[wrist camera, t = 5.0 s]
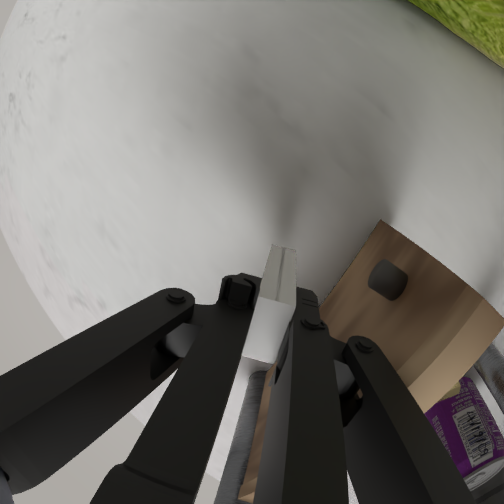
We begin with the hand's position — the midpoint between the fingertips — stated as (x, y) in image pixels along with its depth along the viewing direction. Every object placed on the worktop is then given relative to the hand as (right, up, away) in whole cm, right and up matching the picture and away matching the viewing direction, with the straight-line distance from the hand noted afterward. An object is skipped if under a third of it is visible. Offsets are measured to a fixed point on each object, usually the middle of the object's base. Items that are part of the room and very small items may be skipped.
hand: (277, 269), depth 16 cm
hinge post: (0, -11, +8) cm, 13 cm away
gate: (+4, -3, +4) cm, 6 cm away
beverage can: (+19, -15, +6) cm, 25 cm away
